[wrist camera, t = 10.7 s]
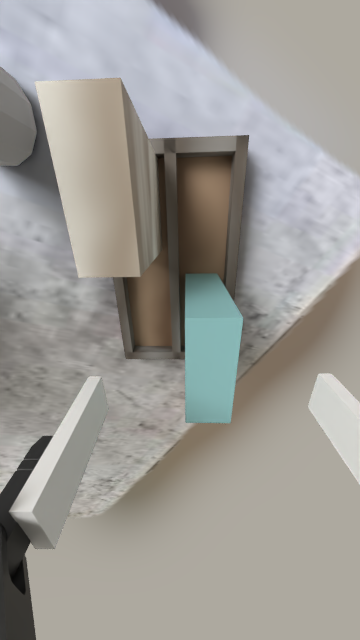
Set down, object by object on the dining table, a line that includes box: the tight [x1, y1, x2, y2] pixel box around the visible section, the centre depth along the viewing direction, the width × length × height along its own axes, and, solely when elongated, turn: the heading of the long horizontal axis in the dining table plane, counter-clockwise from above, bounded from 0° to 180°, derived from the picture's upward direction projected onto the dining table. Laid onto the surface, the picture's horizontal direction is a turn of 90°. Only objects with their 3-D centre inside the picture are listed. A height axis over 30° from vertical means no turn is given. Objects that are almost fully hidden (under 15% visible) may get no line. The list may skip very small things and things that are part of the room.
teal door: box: [185, 273, 243, 423], centre depth 20 cm, size 4×9×12 cm, turn 1°
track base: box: [35, 78, 249, 359], centre depth 19 cm, size 13×22×13 cm, turn 1°
